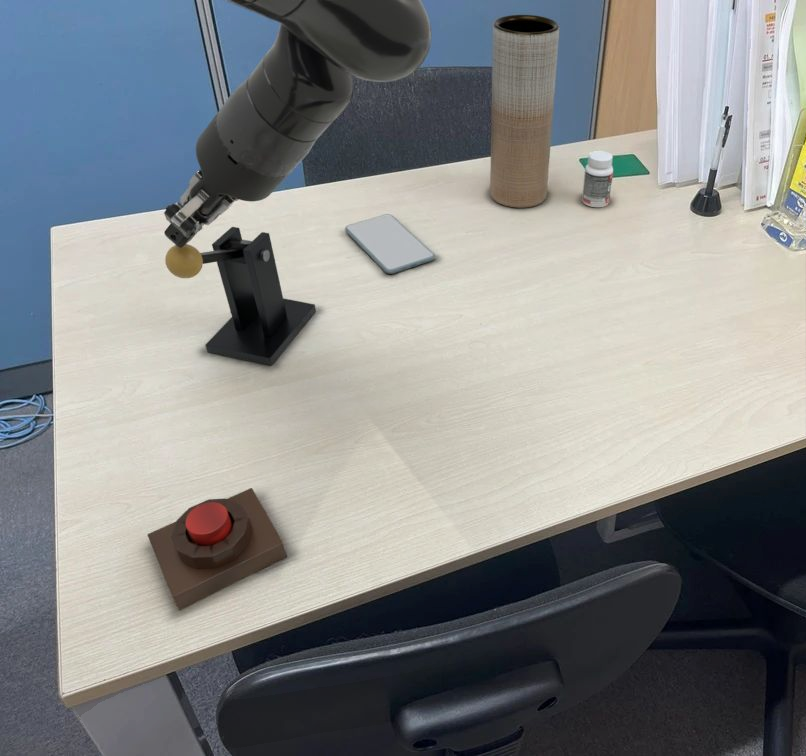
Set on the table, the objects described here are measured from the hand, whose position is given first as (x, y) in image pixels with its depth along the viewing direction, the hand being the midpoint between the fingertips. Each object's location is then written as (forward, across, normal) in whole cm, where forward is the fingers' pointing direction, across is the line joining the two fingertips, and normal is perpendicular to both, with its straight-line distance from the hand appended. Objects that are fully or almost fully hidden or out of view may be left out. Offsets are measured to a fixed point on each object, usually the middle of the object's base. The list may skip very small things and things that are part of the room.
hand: (175, 237), depth 72 cm
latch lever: (+5, -4, +5) cm, 8 cm away
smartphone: (+8, -35, +19) cm, 41 cm away
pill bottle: (-11, -60, +39) cm, 72 cm away
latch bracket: (+14, -10, +14) cm, 22 cm away
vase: (-2, -58, +30) cm, 65 cm away
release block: (+4, +22, +23) cm, 32 cm away
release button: (+2, +22, +21) cm, 30 cm away
